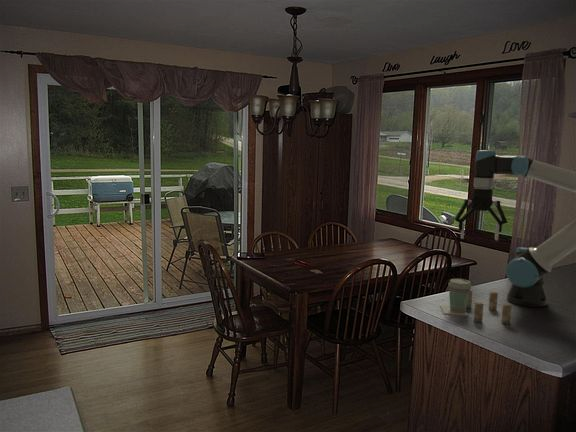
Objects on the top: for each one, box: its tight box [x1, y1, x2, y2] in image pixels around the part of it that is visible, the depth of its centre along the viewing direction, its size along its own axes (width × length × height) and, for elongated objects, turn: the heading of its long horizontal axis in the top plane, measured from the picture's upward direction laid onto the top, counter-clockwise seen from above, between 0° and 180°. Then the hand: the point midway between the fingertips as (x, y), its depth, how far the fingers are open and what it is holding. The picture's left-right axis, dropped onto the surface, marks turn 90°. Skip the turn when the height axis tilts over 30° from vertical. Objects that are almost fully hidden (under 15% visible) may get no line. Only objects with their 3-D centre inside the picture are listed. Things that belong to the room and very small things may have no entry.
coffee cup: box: [447, 278, 472, 313], centre depth 189 cm, size 8×8×12 cm
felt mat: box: [439, 305, 469, 317], centre depth 190 cm, size 9×9×1 cm
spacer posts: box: [466, 289, 512, 325], centre depth 186 cm, size 14×20×7 cm
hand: (479, 239), depth 199 cm, fingers open, 13 cm apart
